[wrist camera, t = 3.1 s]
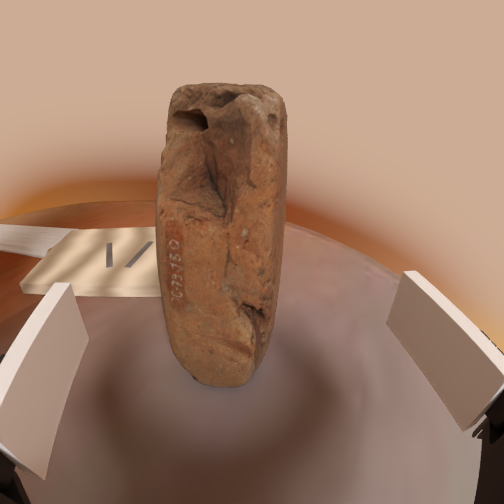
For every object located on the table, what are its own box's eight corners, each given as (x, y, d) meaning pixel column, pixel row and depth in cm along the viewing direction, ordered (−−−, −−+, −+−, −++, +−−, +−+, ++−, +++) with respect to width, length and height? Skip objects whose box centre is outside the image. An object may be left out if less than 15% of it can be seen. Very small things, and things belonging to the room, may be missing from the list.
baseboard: (39, 266, 35) (80, 236, 46) (35, 248, 34) (78, 221, 44) (-36, 249, 37) (-3, 229, 48) (-39, 237, 36) (-5, 218, 47)
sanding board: (23, 293, 27) (19, 283, 26) (72, 238, 43) (71, 230, 42) (240, 295, 31) (240, 283, 31) (228, 233, 47) (228, 225, 47)
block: (204, 305, 29) (203, 97, 21) (277, 316, 28) (296, 99, 20) (163, 383, 19) (129, 81, 11) (260, 403, 18) (289, 72, 10)
